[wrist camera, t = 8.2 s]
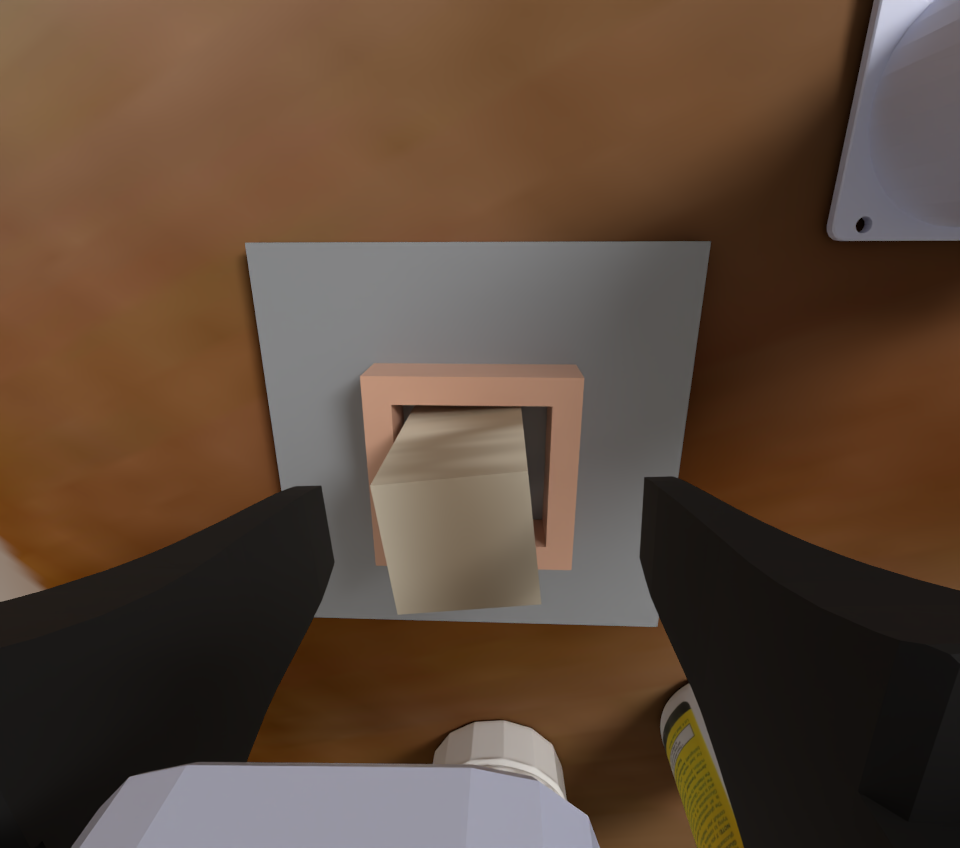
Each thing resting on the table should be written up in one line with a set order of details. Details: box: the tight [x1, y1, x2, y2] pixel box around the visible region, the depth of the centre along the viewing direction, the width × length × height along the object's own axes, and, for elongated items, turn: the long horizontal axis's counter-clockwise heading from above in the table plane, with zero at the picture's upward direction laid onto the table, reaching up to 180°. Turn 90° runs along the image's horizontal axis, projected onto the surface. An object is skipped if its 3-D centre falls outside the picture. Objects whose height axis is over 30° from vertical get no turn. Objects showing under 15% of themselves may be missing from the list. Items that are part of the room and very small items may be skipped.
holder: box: [245, 241, 711, 627], centre depth 20 cm, size 16×16×3 cm
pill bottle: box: [660, 683, 744, 848], centre depth 20 cm, size 6×6×11 cm
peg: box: [370, 405, 541, 615], centre depth 17 cm, size 4×4×7 cm
